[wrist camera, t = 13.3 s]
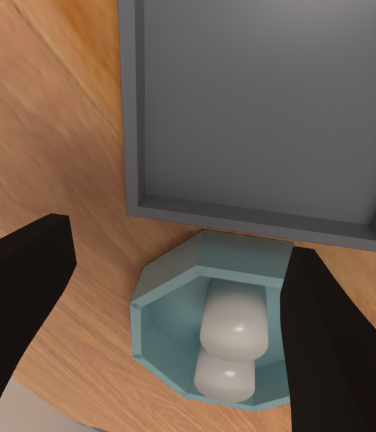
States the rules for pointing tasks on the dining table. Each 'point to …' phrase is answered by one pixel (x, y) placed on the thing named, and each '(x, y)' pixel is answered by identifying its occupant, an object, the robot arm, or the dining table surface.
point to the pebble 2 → (224, 378)
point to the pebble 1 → (235, 320)
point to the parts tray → (252, 116)
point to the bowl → (194, 308)
